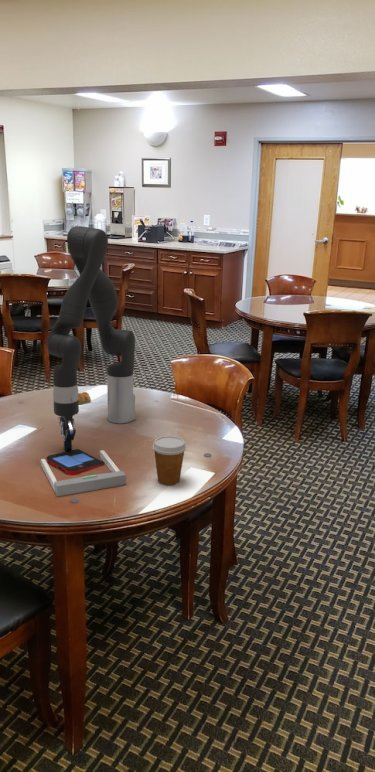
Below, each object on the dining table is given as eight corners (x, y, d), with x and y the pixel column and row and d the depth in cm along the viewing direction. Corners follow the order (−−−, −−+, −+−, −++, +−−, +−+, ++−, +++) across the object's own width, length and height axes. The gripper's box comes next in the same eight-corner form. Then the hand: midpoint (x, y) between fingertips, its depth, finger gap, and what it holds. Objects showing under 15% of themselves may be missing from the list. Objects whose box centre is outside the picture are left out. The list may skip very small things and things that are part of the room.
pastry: (72, 407, 228) (71, 398, 227) (62, 403, 233) (62, 394, 232) (92, 402, 234) (92, 393, 233) (82, 398, 239) (82, 389, 238)
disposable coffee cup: (151, 473, 175) (152, 435, 172) (183, 473, 176) (185, 435, 172) (152, 488, 166) (153, 448, 163) (186, 487, 167) (187, 448, 163)
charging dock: (103, 455, 186) (103, 445, 185) (125, 484, 168) (125, 473, 167) (41, 465, 178) (40, 455, 177) (57, 496, 160) (56, 485, 159)
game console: (106, 466, 180) (105, 459, 180) (70, 478, 172) (70, 471, 171) (78, 451, 190) (78, 445, 189) (43, 462, 181) (43, 456, 181)
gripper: (83, 403, 177) (85, 457, 183) (72, 390, 189) (74, 441, 194) (58, 406, 174) (60, 460, 180) (49, 393, 186) (51, 444, 191)
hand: (67, 450), depth 187 cm, fingers closed
